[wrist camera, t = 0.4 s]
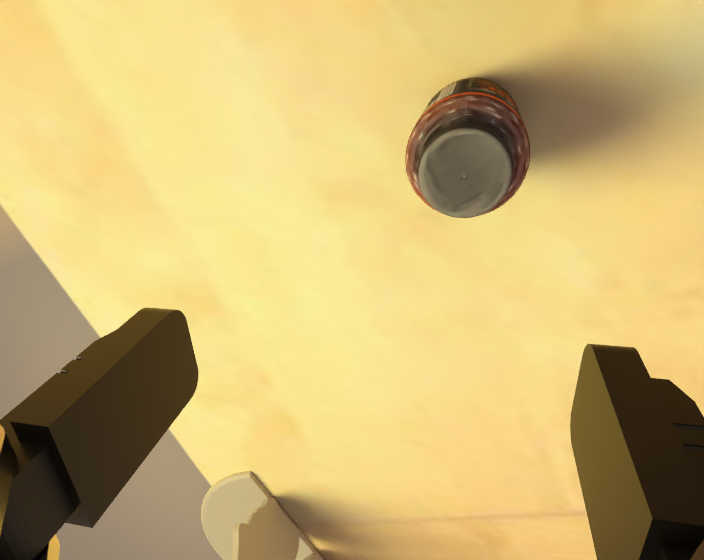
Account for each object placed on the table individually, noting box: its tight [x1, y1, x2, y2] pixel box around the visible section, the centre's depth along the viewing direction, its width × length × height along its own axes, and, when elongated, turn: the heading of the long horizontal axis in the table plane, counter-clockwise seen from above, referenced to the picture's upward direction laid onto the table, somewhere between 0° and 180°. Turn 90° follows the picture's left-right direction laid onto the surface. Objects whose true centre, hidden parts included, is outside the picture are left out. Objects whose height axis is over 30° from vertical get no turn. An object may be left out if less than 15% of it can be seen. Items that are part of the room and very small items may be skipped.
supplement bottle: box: [405, 78, 530, 218], centre depth 26 cm, size 6×6×11 cm
